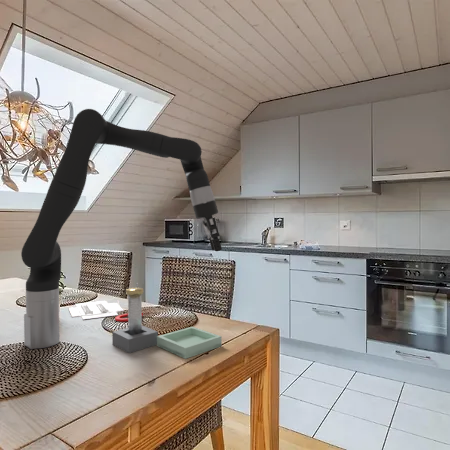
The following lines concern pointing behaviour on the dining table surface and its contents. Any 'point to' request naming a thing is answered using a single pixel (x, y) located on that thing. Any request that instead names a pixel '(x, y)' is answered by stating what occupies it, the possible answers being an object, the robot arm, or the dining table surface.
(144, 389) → the dining table surface
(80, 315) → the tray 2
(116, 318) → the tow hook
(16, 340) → the dining table surface
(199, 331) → the tray
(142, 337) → the socket block
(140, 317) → the steel pin
